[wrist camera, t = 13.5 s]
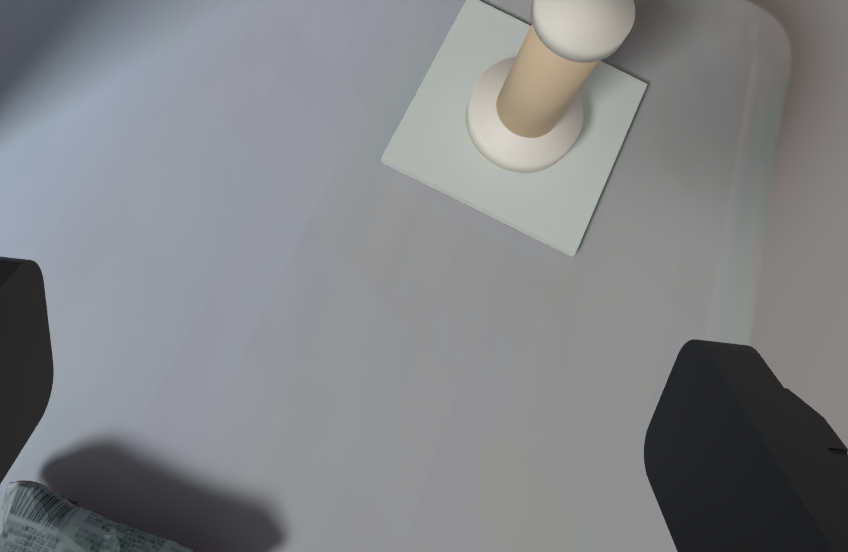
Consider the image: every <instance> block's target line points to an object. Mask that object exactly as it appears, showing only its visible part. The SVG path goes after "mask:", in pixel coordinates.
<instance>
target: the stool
mask: <svg viewBox="0 0 848 552" xmlns="http://www.w3.org/2000/svg"><path fill="white" fill-rule="evenodd" d="M531 20H532V24H531V26H530V29H529V31H528V33H527V35H526V37H525V39H524V41H523V43H522V46H521V48H520V50H519V52H518V54H517V56H516V57H513V58H508V59H505V60H502V61H499V62H497V63H495V64H493V65H492V66H491V67H489V68H488V69H487V70H486V71H485V72H484V73H483V74H482V75H481V76H480V77H479V79H478V81H477V83H476V85H475V87H474V90H473V92H472V95H471V97H470V100H469V102H468V106H467V110H466V124H467V130H468V133H469V136H470V138H471V140H472V142H473V144H474V145H475V147H476V148H477V150H478V151H479V152H480V153H481V154H482V155H483V156H484V157H485V158H486V159H487V160H489V161H490V162H492V163H493V164H495V165H497V166H498V167H500V168H503V169H505V170H508V171H512V172H518V173H533V172H538V171H542V170H545V169H547V168H549V167H551V166H553V165H554V164H556V163H557V162H558V161H559V160H560V159H561V158H562V157H563V156H564V155H565V154H566V153H567V151H568V150H569V149H570V147H571V146H572V145H573V143H574V142H575V141H576V139H577V137H578V135H579V134H580V131H581V128H582V123H583V106H582V102H581V98H580V96H579V93H578V91H579V90H580V88H581V87H582V85H583V84H584V82H585V81H586V79H587V78H588V76H589V75H590V73H591V72H592V71H593V69H594V68H595V66H596V65H597V63H598V62H599V61H600V60H603V59H605V58H607V57H609V56H610V55H612V54H613V53H614V52H615V51H616V50H617V49H618V48H619V46H620V45H621V44H622V42H623V41H624V39H625V38H626V37H627V35H628V34H629V32H630V31H631V29H632V27H633V24H634V20H635V5H634V1H633V0H533V2H532V6H531Z"/></svg>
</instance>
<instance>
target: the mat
mask: <svg viewBox="0 0 848 552" xmlns="http://www.w3.org/2000/svg"><path fill="white" fill-rule="evenodd" d="M529 29H530V25H528V24H526V23H524V22H522V21H520V20H518V19H516V18H514V17H512V16H510V15H508V14H506V13H504V12H502V11H500V10H498V9H496V8H494V7H492V6H490V5H488V4H486V3H483V2H481V1H479V0H466V2H465V3H464V5H463V7H462V9H461V11H460V13H459V15H458V16H457V18H456V20H455V22H454V24H453V26H452V28H451V29H450V31H449V33H448V35H447V37H446V39H445V41H444V42H443V44H442V46H441V48H440V50H439V52H438V54H437V56H436V57H435V59H434V61H433V63H432V65H431V67H430V69H429V70H428V72H427V74H426V76H425V78H424V80H423V82H422V83H421V85H420V87H419V89H418V91H417V93H416V95H415V96H414V98H413V100H412V102H411V104H410V106H409V108H408V109H407V111H406V113H405V115H404V117H403V119H402V121H401V122H400V124H399V126H398V128H397V130H396V132H395V134H394V135H393V137H392V139H391V141H390V143H389V145H388V147H387V148H386V150H385V152H384V154H383V156H382V158H381V163H383V164H385V165H387V166H389V167H391V168H393V169H395V170H397V171H399V172H401V173H403V174H405V175H407V176H409V177H411V178H413V179H415V180H417V181H419V182H421V183H423V184H425V185H427V186H429V187H431V188H433V189H435V190H437V191H439V192H442V193H444V194H446V195H448V196H450V197H452V198H454V199H456V200H458V201H460V202H462V203H464V204H466V205H468V206H470V207H472V208H474V209H476V210H478V211H480V212H482V213H484V214H486V215H488V216H490V217H492V218H494V219H496V220H498V221H500V222H502V223H504V224H506V225H508V226H510V227H512V228H514V229H516V230H518V231H520V232H522V233H524V234H526V235H529V236H531V237H533V238H535V239H537V240H539V241H541V242H543V243H545V244H547V245H549V246H551V247H553V248H555V249H557V250H559V251H561V252H563V253H565V254H567V255H569V256H571V257H572V256H574V255H575V254H576V251H577V249H578V247H579V244H580V242H581V240H582V237H583V235H584V233H585V230H586V228H587V226H588V223H589V221H590V218H591V216H592V214H593V211H594V209H595V207H596V204H597V202H598V200H599V197H600V195H601V193H602V190H603V188H604V186H605V183H606V181H607V178H608V176H609V174H610V171H611V169H612V167H613V164H614V162H615V160H616V157H617V155H618V153H619V150H620V148H621V146H622V143H623V141H624V138H625V136H626V134H627V131H628V129H629V127H630V124H631V122H632V120H633V117H634V115H635V113H636V110H637V108H638V105H639V103H640V101H641V98H642V96H643V94H644V91H645V89H646V87H647V84H646V83H644V82H642V81H640V80H638V79H636V78H634V77H632V76H630V75H628V74H626V73H624V72H622V71H620V70H618V69H616V68H614V67H612V66H610V65H608V64H606V63H604V62H602V61H599V62H598V63H597V65H596V66H595V68H594V69H593V71H592V72H591V73H590V75H589V76H588V78H587V79H586V81H585V82H584V84H583V85H582V87H581V88H580V90H579V91H578V93H579V96H580V98H581V102H582V106H583V123H582V128H581V131H580V134H579V135H578V137H577V139H576V141H575V142H574V143H573V145H572V146H571V147H570V149H569V150H568V151H567V153H566V154H565V155H564V156H563V157H562V158H561V159H560V160H559V161H558V162H557V163H556V164H554V165H553V166H551V167H549V168H547V169H545V170H542V171H538V172H533V173H518V172H512V171H508V170H505V169H503V168H500V167H498V166H497V165H495V164H493V163H492V162H490V161H489V160H487V159H486V158H485V157H484V156H483V155H482V154H481V153H480V152H479V151H478V150H477V148H476V147H475V145H474V144H473V142H472V140H471V138H470V136H469V133H468V130H467V124H466V110H467V106H468V102H469V100H470V97H471V95H472V92H473V90H474V87H475V85H476V83H477V81H478V79H479V77H480V76H481V75H482V74H483V73H484V72H485V71H486V70H487V69H488V68H489V67H491V66H492V65H493V64H495V63H497V62H499V61H502V60H505V59H508V58H513V57H516V56H517V54H518V52H519V50H520V48H521V46H522V43H523V41H524V39H525V37H526V35H527V33H528V31H529Z"/></svg>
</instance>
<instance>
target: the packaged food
mask: <svg viewBox="0 0 848 552" xmlns="http://www.w3.org/2000/svg"><path fill="white" fill-rule="evenodd" d="M15 482H17V483H15ZM15 482H10V483H9V484H7V491H6V494H5V498H4V503H3V506H2V510H3V531H2V534H1V537H0V552H198V551H195V550H193V549H190V548H188V547H185V546H183V545H181V544H179V543H177V542H175V541H171V540H168V539H165V538H162V537H158V536H155V535H152V534H150V533H148V532H145V531H143V530H140V529H137V528H135V527H132V526H127V525H125V524H122V523H116V522H114V521H111V520H109V519H107V518H105V517H103V516H102V515H100V514H97V513H94V512H92V511H90V510H88V509H86V508H83V507H80V506H79V505H77V503H76V502H73V501H70V500H69V499H66V498H64V497H63V496H60V495H59V494H58V493H56V492H55V491H53V490H52V489H50V488H49V487H47V486H45V485H42V484H40V483H37V482H33V481H15Z"/></svg>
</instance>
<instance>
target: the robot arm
mask: <svg viewBox="0 0 848 552" xmlns="http://www.w3.org/2000/svg"><path fill="white" fill-rule="evenodd" d="M52 384H53V358H52V350H51V341H50V332H49V324H48V315H47V307H46V298H45V290H44V281H43V275H42V272H41V269H40V267H39V266H38V264H37V263H36V262H34V261H32V260H25V259H16V258H7V257H0V484H1V482H2V480H3V479H4V477H5V476H6V474H7V472H8V471H9V469H10V468H11V466H12V464H13V463H14V461H15V460H16V458H17V457H18V455H19V453H20V452H21V450H22V449H23V447H24V445H25V444H26V442H27V441H28V439H29V437H30V436H31V434H32V433H33V431H34V429H35V428H36V426H37V425H38V423H39V421H40V420H41V418H42V416H43V414H44V412H45V410H46V407H47V405H48V402H49V398H50V394H51V390H52ZM847 451H848V449H847V448H846V446H845V445H844V444H843V443H842V441H841V440H840V439H839V437H838V436H837V435H836V433H835V432H834V431H833V429H832V428H831V427H830V425H829V424H828V423H827V421H826V420H825V419H824V418H823V417H822V416H821V415H820V414H819V413H817V412H816V411H815V410H814V409H812V408H811V407H810V406H809V405H807V404H806V403H805V402H804V401H802V400H801V399H800V398H799V397H798V396H796V395H795V394H794V393H792V392H791V391H790V390H789V389H786V388H784V387H783V386H782V385H781V383H780V382H779V381H778V379H777V378H776V376H775V375H774V374H773V372H772V371H771V369H770V368H769V367H768V365H767V364H766V363H765V361H764V360H763V358H762V357H761V356H760V354H759V353H758V352H757V351H756V350H755V349H754V348H753V347H750V346H747V345H738V344H730V343H721V342H713V341H704V340H690V341H688V342H687V343H685V345H684V346H683V347H682V348H681V350H680V352H679V354H678V356H677V358H676V361H675V363H674V366H673V368H672V371H671V373H670V375H669V378H668V380H667V383H666V385H665V388H664V390H663V393H662V395H661V397H660V400H659V402H658V405H657V407H656V410H655V412H654V414H653V417H652V419H651V422H650V424H649V427H648V430H647V433H646V437H645V444H644V462H645V469H646V473H647V476H648V479H649V482H650V484H651V487H652V489H653V492H654V494H655V497H656V499H657V502H658V504H659V507H660V509H661V512H662V514H663V516H664V519H665V521H666V524H667V526H668V529H669V531H670V534H671V536H672V539H673V541H674V544H675V546H676V549H677V551H678V552H848V454H847Z"/></svg>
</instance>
